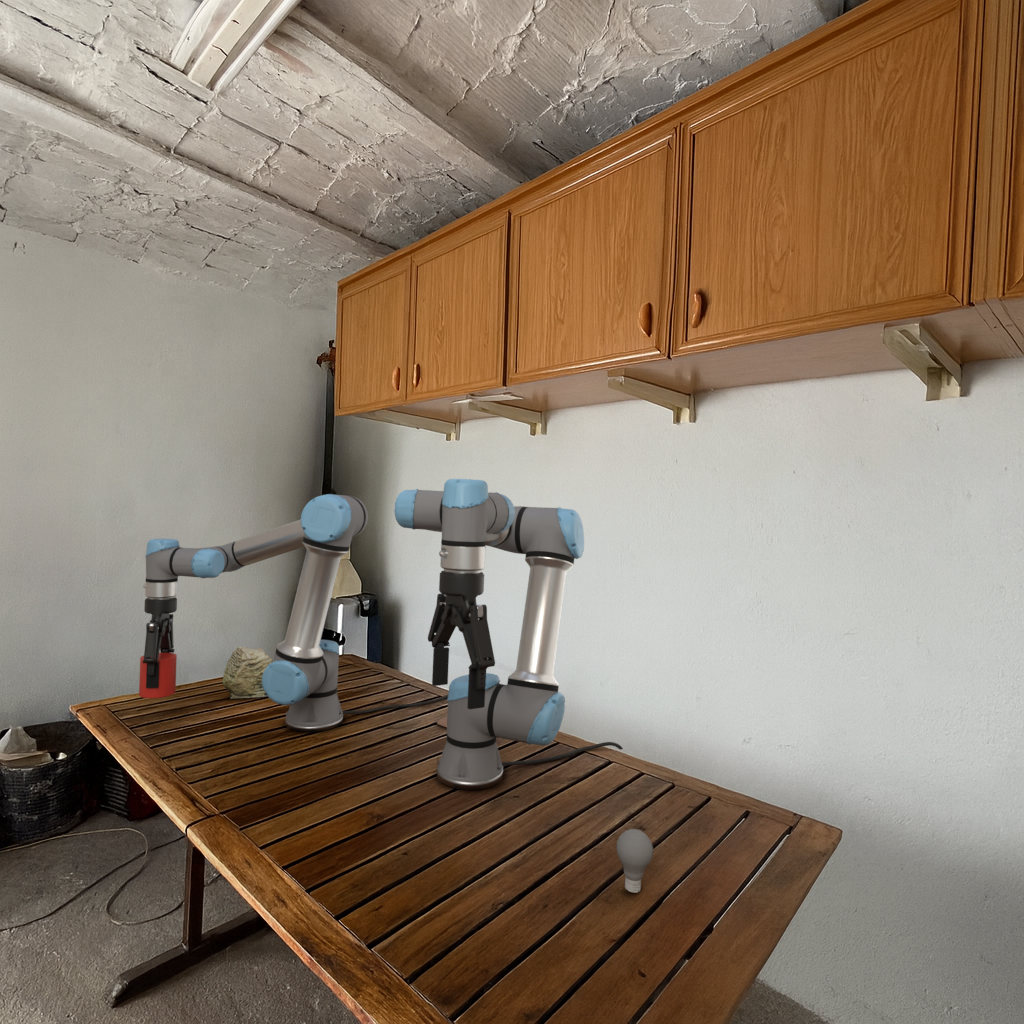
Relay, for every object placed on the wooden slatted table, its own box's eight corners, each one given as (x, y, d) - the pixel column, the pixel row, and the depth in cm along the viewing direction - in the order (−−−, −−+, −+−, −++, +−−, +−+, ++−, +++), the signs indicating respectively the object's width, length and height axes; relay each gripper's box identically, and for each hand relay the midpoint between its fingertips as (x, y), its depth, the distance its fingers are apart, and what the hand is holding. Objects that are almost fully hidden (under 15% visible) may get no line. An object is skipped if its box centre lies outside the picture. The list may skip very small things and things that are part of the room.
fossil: (218, 695, 195) (220, 647, 195) (278, 685, 208) (279, 640, 207) (228, 703, 189) (230, 653, 188) (289, 692, 201) (290, 645, 201)
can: (168, 698, 164) (169, 660, 164) (133, 698, 163) (134, 660, 163) (180, 688, 173) (181, 652, 172) (147, 688, 171) (148, 652, 171)
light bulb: (610, 879, 108) (613, 822, 108) (644, 879, 109) (647, 822, 109) (619, 902, 102) (622, 840, 102) (655, 901, 103) (658, 840, 103)
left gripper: (159, 591, 177) (156, 671, 177) (130, 603, 156) (127, 695, 157) (188, 591, 179) (185, 671, 179) (163, 604, 158) (160, 694, 158)
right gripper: (412, 562, 115) (408, 678, 116) (477, 580, 94) (471, 722, 95) (449, 562, 119) (445, 674, 120) (520, 579, 98) (514, 715, 99)
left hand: (158, 682), depth 168 cm, fingers closed on can, 8 cm apart
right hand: (456, 695), depth 107 cm, fingers open, 13 cm apart
